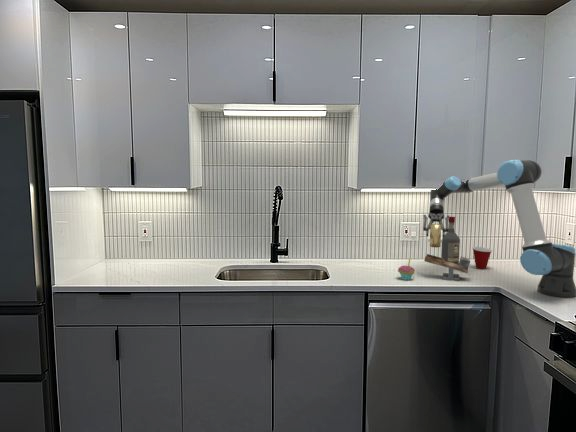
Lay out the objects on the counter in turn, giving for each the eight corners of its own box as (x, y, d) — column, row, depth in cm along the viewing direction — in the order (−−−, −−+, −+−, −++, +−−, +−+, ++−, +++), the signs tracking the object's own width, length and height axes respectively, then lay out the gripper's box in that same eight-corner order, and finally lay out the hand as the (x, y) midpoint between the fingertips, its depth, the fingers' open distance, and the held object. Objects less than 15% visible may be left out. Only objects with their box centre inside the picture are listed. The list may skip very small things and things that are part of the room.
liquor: (438, 263, 242) (440, 216, 239) (450, 262, 245) (452, 215, 242) (449, 266, 234) (451, 217, 231) (461, 265, 237) (463, 217, 234)
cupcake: (417, 278, 205) (417, 256, 203) (409, 281, 199) (410, 259, 197) (402, 276, 211) (403, 254, 209) (394, 278, 205) (395, 256, 203)
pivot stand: (458, 276, 210) (459, 262, 209) (459, 281, 200) (459, 267, 199) (442, 274, 213) (443, 261, 212) (442, 279, 203) (443, 265, 202)
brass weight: (442, 246, 208) (443, 224, 207) (437, 247, 205) (438, 225, 203) (432, 245, 212) (433, 223, 211) (427, 246, 209) (428, 224, 208)
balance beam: (466, 269, 207) (469, 258, 206) (467, 273, 199) (470, 261, 198) (425, 258, 215) (427, 247, 214) (424, 261, 207) (427, 250, 206)
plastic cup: (484, 270, 222) (485, 250, 221) (467, 267, 231) (468, 247, 230) (495, 268, 228) (496, 248, 227) (478, 265, 237) (478, 246, 236)
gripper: (453, 212, 217) (453, 245, 204) (419, 211, 224) (417, 243, 211) (454, 204, 212) (454, 237, 198) (419, 203, 219) (416, 235, 205)
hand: (435, 240), depth 205 cm, fingers closed on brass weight, 5 cm apart
